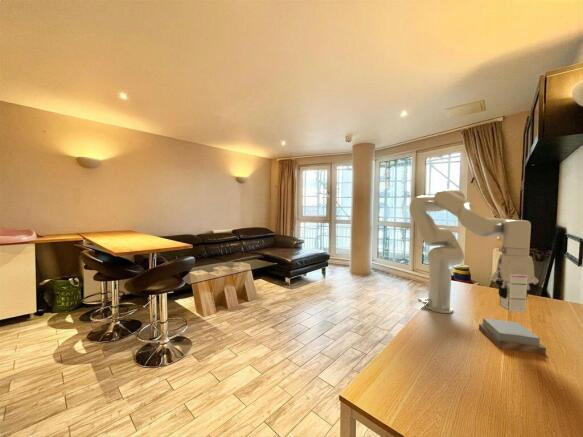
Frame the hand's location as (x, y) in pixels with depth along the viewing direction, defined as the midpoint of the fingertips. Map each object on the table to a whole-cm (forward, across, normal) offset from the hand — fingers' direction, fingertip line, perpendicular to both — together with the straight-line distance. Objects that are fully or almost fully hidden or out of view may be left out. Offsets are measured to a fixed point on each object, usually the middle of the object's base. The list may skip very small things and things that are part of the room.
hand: (512, 297), depth 91 cm
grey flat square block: (+18, 0, 0) cm, 18 cm away
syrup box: (+5, 0, 0) cm, 5 cm away
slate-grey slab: (+15, 0, 0) cm, 15 cm away
